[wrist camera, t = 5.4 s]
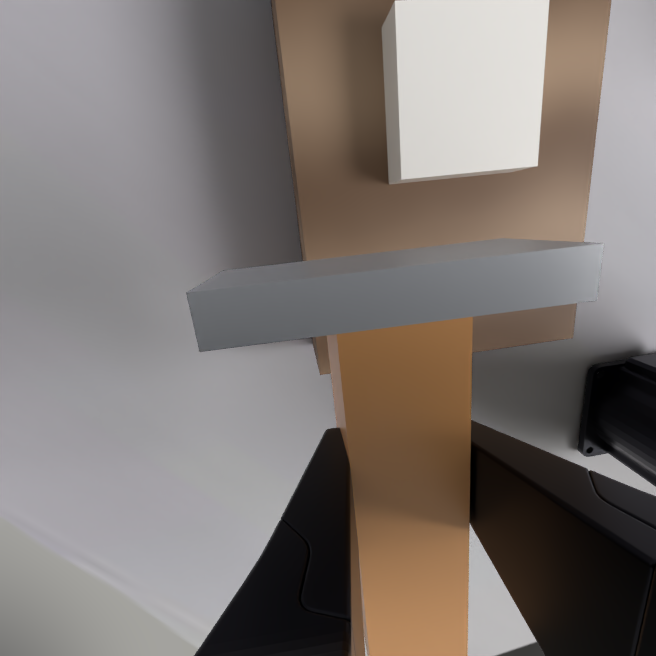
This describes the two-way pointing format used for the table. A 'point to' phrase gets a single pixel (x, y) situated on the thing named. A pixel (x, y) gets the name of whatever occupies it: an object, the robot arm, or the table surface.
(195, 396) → the table surface
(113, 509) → the table surface
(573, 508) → the robot arm
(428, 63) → the tile
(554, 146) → the tan block
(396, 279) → the scraper
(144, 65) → the table surface
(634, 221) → the table surface
